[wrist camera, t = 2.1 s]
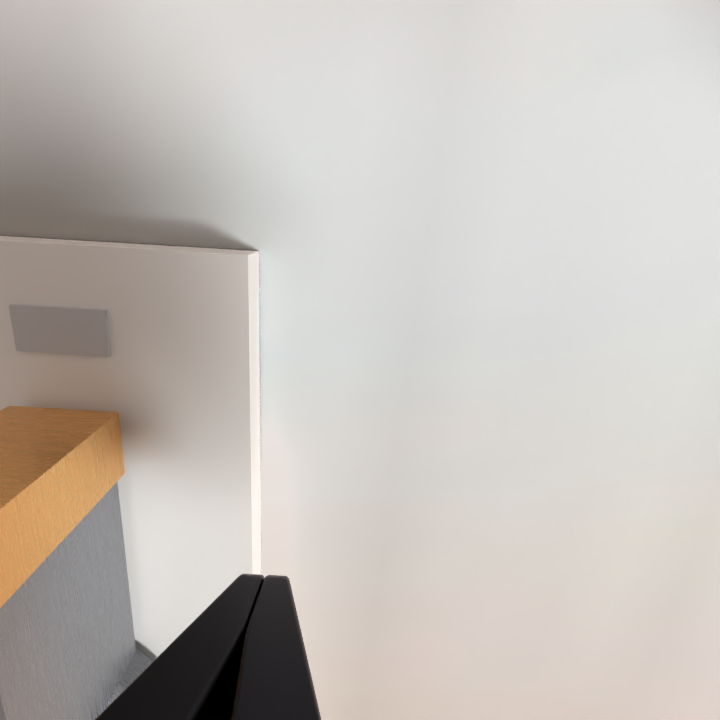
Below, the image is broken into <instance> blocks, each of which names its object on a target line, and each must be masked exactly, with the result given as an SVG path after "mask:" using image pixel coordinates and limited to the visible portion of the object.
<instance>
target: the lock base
mask: <svg viewBox="0 0 720 720" xmlns="http://www.w3.org/2000/svg"><path fill="white" fill-rule="evenodd" d="M8 406H24V407H40V408H57V409H74V410H90V411H107V412H119V418H120V428H121V437H122V447H123V457H124V466H125V474H124V475H123V476H122V477H121V478H120V479H119V480H118V481H117V482H118V491H119V500H120V510H121V519H122V528H123V537H124V546H125V555H126V564H127V573H128V582H129V592H130V601H131V610H132V619H133V628H134V637H135V646H136V651H138V652H140V653H142V654H143V655H145V656H147V657H148V658H149V659H151V660H152V661H154V660H155V659H156V658H157V657H158V656H159V655H160V654H161V653H162V652H163V651H164V650H165V649H166V648H167V647H168V646H169V645H170V644H171V643H172V642H173V641H174V640H175V639H176V638H177V637H178V636H179V635H180V634H181V633H182V632H183V631H184V630H185V629H186V628H187V627H188V626H189V625H190V624H191V623H192V622H193V621H194V620H195V619H196V618H197V617H198V616H199V615H200V614H201V613H202V612H203V611H204V610H205V609H206V608H207V607H208V606H209V605H210V604H211V603H212V602H213V601H214V600H215V599H216V598H217V597H218V596H219V595H220V594H221V593H222V592H223V591H224V590H225V589H226V588H227V587H228V586H229V585H230V584H231V583H232V582H233V581H234V580H235V579H236V578H237V577H238V576H239V575H241V574H261V477H260V342H259V251H250V250H233V249H216V248H199V247H182V246H165V245H148V244H131V243H114V242H97V241H80V240H63V239H46V238H29V237H12V236H0V411H1V410H2V409H4V408H6V407H8Z"/></svg>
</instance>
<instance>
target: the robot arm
mask: <svg viewBox="0 0 720 720" xmlns="http://www.w3.org/2000/svg"><path fill="white" fill-rule="evenodd" d="M95 720H321V717H320V712H319V708H318V704H317V699H316V695H315V690H314V686H313V682H312V677H311V673H310V668H309V664H308V660H307V655H306V651H305V647H304V642H303V638H302V633H301V629H300V625H299V620H298V616H297V612H296V607H295V603H294V598H293V594H292V590H291V585H290V581H289V578H288V577H287V576H277V575H268V576H266V577H265V578H264V576H263V575H261V574H241V575H239V576H238V577H237V578H236V579H235V580H234V581H233V582H232V583H231V584H230V585H229V586H228V587H227V588H226V589H225V590H224V591H223V592H222V593H221V594H220V595H219V596H218V597H217V598H216V599H215V600H214V601H213V602H212V603H211V604H210V605H209V606H208V607H207V608H206V609H205V610H204V611H203V612H202V613H201V614H200V615H199V616H198V617H197V618H196V619H195V620H194V621H193V622H192V623H191V624H190V625H189V626H188V627H187V628H186V629H185V630H184V631H183V632H182V633H181V634H180V635H179V636H178V637H177V638H176V639H175V640H174V641H173V642H172V643H171V644H170V645H169V646H168V647H167V648H166V649H165V650H164V651H163V652H162V653H161V654H160V655H159V656H158V657H157V658H156V659H155V660H154V661H153V662H152V663H151V664H150V665H149V666H148V667H147V668H146V669H145V670H144V671H143V672H142V673H141V674H140V675H139V676H138V677H137V678H136V679H135V680H134V681H133V682H132V683H131V684H130V685H129V686H128V687H127V688H126V689H125V690H124V691H123V692H122V693H121V694H120V695H119V696H118V697H117V698H116V699H115V700H114V701H113V702H112V703H111V704H110V705H109V706H108V707H107V708H106V709H105V710H104V711H103V712H102V713H101V714H100V715H99V716H98V717H97V718H96V719H95Z"/></svg>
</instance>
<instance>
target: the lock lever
mask: <svg viewBox="0 0 720 720" xmlns="http://www.w3.org/2000/svg"><path fill="white" fill-rule="evenodd" d="M124 474H125V466H124V457H123V447H122V437H121V428H120V418H119V412H107V411H90V410H74V409H57V408H40V407H24V406H8V407H6V408H4V409H2V410H1V411H0V720H95V719H96V718H97V717H98V716H99V715H100V714H101V713H102V712H103V711H104V710H105V709H106V708H107V707H108V706H109V705H110V704H111V703H112V702H113V701H114V700H115V699H116V698H117V697H118V696H119V695H120V694H121V693H122V692H123V691H124V690H125V689H126V688H127V687H128V686H129V685H130V684H131V683H132V682H133V681H134V680H135V679H136V678H137V677H138V676H139V675H140V674H141V673H142V672H143V671H144V670H145V669H146V668H147V667H148V666H149V665H150V664H151V663H152V662H153V661H152V660H151V659H149V658H148V657H147V656H145V655H143V654H142V653H140V652H138V651H136V646H135V637H134V628H133V619H132V610H131V601H130V592H129V582H128V573H127V564H126V555H125V546H124V537H123V528H122V519H121V510H120V500H119V491H118V482H117V481H118V480H119V479H120V478H121V477H122V476H123V475H124Z"/></svg>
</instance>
